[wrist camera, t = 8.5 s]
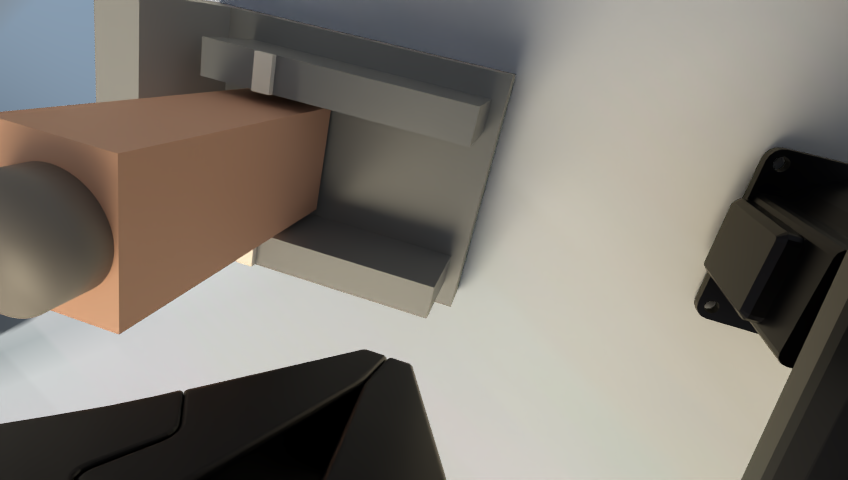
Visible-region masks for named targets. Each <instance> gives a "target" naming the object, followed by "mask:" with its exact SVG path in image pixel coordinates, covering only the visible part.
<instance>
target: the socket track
mask: <svg viewBox="0 0 848 480" xmlns="http://www.w3.org/2000/svg"><path fill="white" fill-rule="evenodd" d="M94 21H95V67H96V103H99V102H109V101H120V100H130V99H140V98H151V97H161V96H172V95H182V94H192V93H203V92H213V91H224V90H234V89H245V88H249V89H251V91H255V92H258V93H262V94H266V95H275V96H279V97H283V98H287V99H290V100H294V101H298V102H302V103H306V104H309V105H313V106H317V107H321V108H324V109H328V110H331V113H330V120H329V127H328V133H327V140H326V147H325V154H324V161H323V168H322V174H321V181H320V188H319V195H318V202H317V209H316V210H314V211H313V212H311V213H310V214H308V215H307V216H305V217H303V218H302V219H300V220H299V221H297V222H296V223H294V224H292V225H291V226H289V227H288V228H286V229H285V230H283V231H281V232H280V233H278V234H277V235H275V236H273V237H272V238H270V239H269V240H267V241H266V242H264V243H262V244H261V245H259V246H258V247H256V248H255V249H253V250H251V251H250V252H248V253H247V254H245V255H244V256H242V257H240V258H239V259H237V260H236V262H239V263H242V264H245V265H248V266H253V265H254V264H257V265H260V266H263V267H266V268H269V269H272V270H275V271H279V272H282V273H285V274H288V275H291V276H294V277H297V278H301V279H304V280H307V281H310V282H313V283H316V284H319V285H323V286H326V287H329V288H332V289H335V290H338V291H341V292H345V293H348V294H351V295H354V296H357V297H360V298H364V299H367V300H370V301H373V302H376V303H379V304H382V305H386V306H389V307H392V308H395V309H398V310H401V311H404V312H408V313H411V314H414V315H417V316H420V317H423V318H427V316H428V314H429V312H430V310H431V308H432V306H433V304H434V302H437V303H440V304H444V305H447V306H450V307H451V304H452V302H453V300H454V297H455V295H456V292H457V289H458V286H459V282H460V278H461V275H462V271H463V267H464V264H465V260H466V256H467V253H468V249H469V245H470V242H471V238H472V234H473V231H474V227H475V223H476V220H477V216H478V212H479V209H480V205H481V201H482V198H483V194H484V190H485V187H486V183H487V179H488V176H489V172H490V168H491V165H492V161H493V157H494V154H495V150H496V146H497V142H498V139H499V135H500V131H501V128H502V124H503V120H504V117H505V113H506V109H507V106H508V102H509V98H510V95H511V91H512V87H513V84H514V80H515V76H516V74H512V73H508V72H504V71H499V70H495V69H491V68H487V67H483V66H479V65H475V64H470V63H466V62H462V61H458V60H454V59H450V58H446V57H442V56H437V55H433V54H429V53H425V52H421V51H417V50H413V49H409V48H404V47H400V46H396V45H392V44H388V43H384V42H380V41H375V40H371V39H367V38H363V37H359V36H355V35H351V34H347V33H342V32H338V31H334V30H330V29H326V28H322V27H318V26H313V25H309V24H305V23H301V22H297V21H293V20H289V19H285V18H280V17H276V16H272V15H268V14H264V13H260V12H256V11H252V10H247V9H243V8H239V7H235V6H231V5H227V4H223V3H218V2H213V1H207V0H94Z"/></svg>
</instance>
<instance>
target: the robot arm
mask: <svg viewBox="0 0 848 480" xmlns="http://www.w3.org/2000/svg"><path fill="white" fill-rule="evenodd" d="M779 157H784V158H785V164H784V166H783V167H782V168H780V169H778V170H776V169H774V168H773V162H774V161H775V160H776V159H777V158H779ZM704 266H705V268H706V270H707V271H708V272H707V274H706V276H705V279H704V281H703V283H702V285H701V287H700V289H699V291H698V293H697V296H696V298H695V301H694V304H695V308H696V310H697V311H698V313H699V314H700V315H701V316H702V317H704V318H706V319H710V320H713V321H716V322H720V323H723V324H727V325H730V326H733V327H737V328H740V329H744V330H747V331H750V332H754V333H757V334H759V335H760V336H761V338H762V339H763V340H764V342H765V343H766V344H767V346H768V347H769V348H770V350H771V351H772V352H773V354H774V355H775V357H776V358H777V359H778V361H779V362H780V363H781V364H783V365H784V366H786V367H789V368H793V369H792V371H791V373H790V375H789V378H788V380H787V382H786V384H785V386H784V388H783V391H782V393H781V395H780V397H779V399H778V401H777V403H776V406H775V408H774V410H773V412H772V414H771V416H770V419H769V421H768V423H767V425H766V427H765V429H764V432H763V434H762V436H761V438H760V440H759V442H758V445H757V447H756V449H755V451H754V453H753V455H752V457H751V460H750V462H749V464H748V466H747V468H746V470H745V473H744V475H743V477H742V479H741V480H848V163H844V162H840V161H836V160H832V159H828V158H824V157H820V156H815V155H811V154H807V153H803V152H799V151H795V150H791V149H787V148H779V147H777V148H773V149H770V150H769V151H767V152H766V153H765V154H764V155H763V157H762V158H761V160H760V162H759V164H758V166H757V168H756V171H755V173H754V175H753V177H752V179H751V181H750V183H749V185H748V187H747V190H746V192H745V194H744V196H743V198H742V199H738V200H737V201H735V202H733V203H732V204H731V206H730V208H729V211H728V213H727V215H726V217H725V219H724V221H723V223H722V226H721V228H720V230H719V232H718V234H717V236H716V239H715V241H714V243H713V245H712V247H711V249H710V251H709V254H708V256H707V258H706V260H705V262H704ZM709 301H716V305H715V306H714V307H712V308H705V307H704V305H705V304H706V303H707V302H709ZM0 480H446V477H445V474H444V470H443V467H442V464H441V460H440V457H439V454H438V450H437V447H436V444H435V440H434V437H433V434H432V430H431V427H430V424H429V420H428V417H427V414H426V410H425V407H424V404H423V401H422V397H421V394H420V391H419V387H418V384H417V381H416V377H415V374H414V371H413V367H412V366H411V365H410V364H409V363H406V362H402V361H399V360H396V359H393V358H389V359H386V357H385V356H384V355H381V354H378V353H375V352H372V351H369V350H359V351H354V352H350V353H346V354H341V355H337V356H333V357H328V358H324V359H320V360H315V361H311V362H306V363H302V364H298V365H293V366H289V367H284V368H280V369H276V370H271V371H267V372H263V373H258V374H254V375H249V376H245V377H241V378H236V379H232V380H228V381H223V382H219V383H214V384H210V385H206V386H201V387H197V388H193V389H188V390H186V391H185V392H184V395H183V392H182V391H175V392H171V393H167V394H162V395H158V396H154V397H149V398H144V399H139V400H134V401H130V402H125V403H120V404H115V405H110V406H105V407H99V408H93V409H87V410H82V411H76V412H70V413H64V414H58V415H53V416H46V417H40V418H34V419H28V420H22V421H15V422H9V423H3V424H0Z"/></svg>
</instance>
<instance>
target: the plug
mask: <svg viewBox="0 0 848 480" xmlns="http://www.w3.org/2000/svg"><path fill="white" fill-rule="evenodd" d="M330 113H331V110H328V109H324V108H321V107H317V106H313V105H309V104H306V103H302V102H298V101H294V100H290V99H287V98H283V97H279V96H275V95H266V94H262V93H258V92H255V91H251V89H249V88H245V89H234V90H224V91H213V92H203V93H192V94H182V95H172V96H161V97H151V98H140V99H130V100H120V101H109V102H99V103H88V104H78V105H67V106H57V107H47V108H36V109H26V110H16V111H6V112H0V314H2V315H5V316H9V317H13V318H20V319H27V318H33V317H37V316H40V315H42V314H44V313H46V312H48V311H50V310H51V311H54V312H57V313H60V314H63V315H66V316H68V317H71V318H74V319H77V320H80V321H83V322H85V323H88V324H91V325H94V326H97V327H100V328H102V329H105V330H108V331H111V332H114V333H117V334H120V333H122V332H124V331H125V330H127V329H128V328H130V327H132V326H133V325H135V324H136V323H138V322H139V321H141V320H143V319H144V318H146V317H147V316H149V315H150V314H152V313H154V312H155V311H157V310H158V309H160V308H161V307H163V306H165V305H166V304H168V303H169V302H171V301H173V300H174V299H176V298H177V297H179V296H180V295H182V294H184V293H185V292H187V291H188V290H190V289H191V288H193V287H195V286H196V285H198V284H199V283H201V282H202V281H204V280H206V279H207V278H209V277H210V276H212V275H214V274H215V273H217V272H218V271H220V270H221V269H223V268H225V267H226V266H228V265H229V264H231V263H232V262H234V261H236V260H237V259H239V258H240V257H242V256H244V255H245V254H247V253H248V252H250V251H251V250H253V249H255V248H256V247H258V246H259V245H261V244H262V243H264V242H266V241H267V240H269V239H270V238H272V237H273V236H275V235H277V234H278V233H280V232H281V231H283V230H285V229H286V228H288V227H289V226H291V225H292V224H294V223H296V222H297V221H299V220H300V219H302V218H303V217H305V216H307V215H308V214H310V213H311V212H313V211H314V210H316V209H317V202H318V195H319V188H320V181H321V174H322V168H323V161H324V154H325V147H326V140H327V133H328V127H329V120H330Z"/></svg>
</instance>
